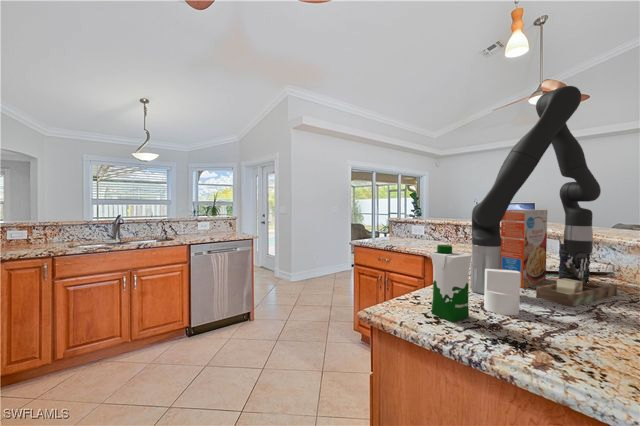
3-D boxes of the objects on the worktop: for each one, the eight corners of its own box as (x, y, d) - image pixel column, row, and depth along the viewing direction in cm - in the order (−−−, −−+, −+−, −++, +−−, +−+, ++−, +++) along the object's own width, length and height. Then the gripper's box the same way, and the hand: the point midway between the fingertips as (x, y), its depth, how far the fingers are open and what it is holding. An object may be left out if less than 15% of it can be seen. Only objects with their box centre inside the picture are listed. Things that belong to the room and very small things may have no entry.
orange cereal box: (523, 288, 108) (524, 210, 107) (500, 283, 115) (501, 210, 114) (545, 279, 121) (547, 209, 120) (523, 275, 128) (525, 209, 127)
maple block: (574, 295, 94) (574, 283, 94) (556, 291, 99) (556, 279, 98) (582, 293, 96) (582, 281, 96) (564, 289, 101) (564, 278, 101)
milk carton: (446, 308, 88) (447, 243, 87) (474, 318, 80) (475, 247, 79) (426, 313, 83) (427, 245, 83) (453, 324, 75) (454, 250, 75)
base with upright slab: (487, 313, 84) (488, 272, 83) (481, 303, 92) (482, 266, 92) (523, 317, 81) (524, 275, 80) (514, 306, 89) (514, 268, 89)
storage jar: (568, 282, 116) (569, 246, 116) (552, 276, 126) (553, 243, 126) (596, 284, 115) (597, 247, 114) (578, 277, 124) (579, 244, 124)
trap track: (571, 306, 89) (571, 295, 89) (536, 297, 98) (536, 287, 98) (616, 294, 101) (616, 284, 101) (581, 287, 110) (581, 278, 110)
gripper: (581, 240, 93) (579, 293, 93) (601, 238, 98) (599, 288, 99) (554, 238, 100) (553, 287, 100) (574, 236, 105) (573, 282, 106)
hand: (576, 287), depth 99 cm, fingers closed
